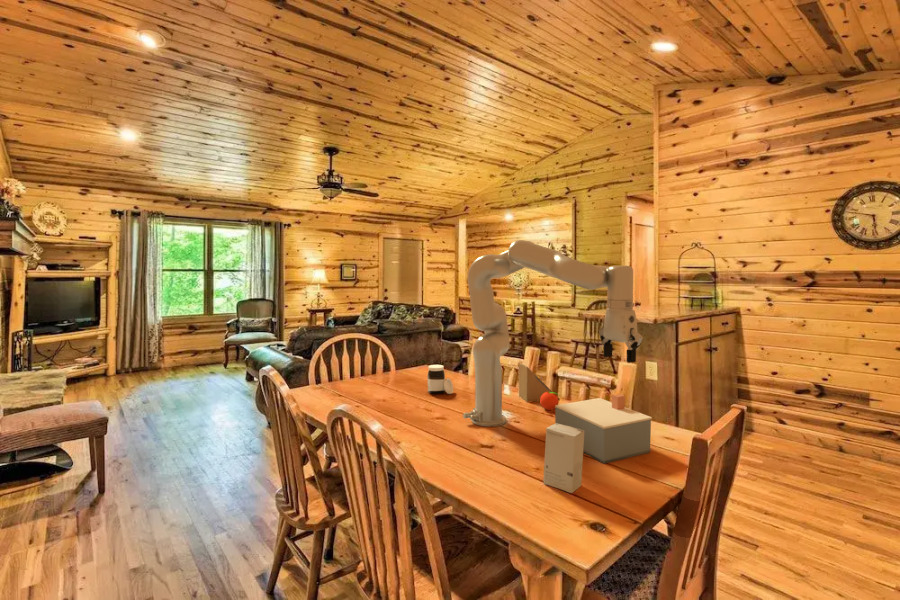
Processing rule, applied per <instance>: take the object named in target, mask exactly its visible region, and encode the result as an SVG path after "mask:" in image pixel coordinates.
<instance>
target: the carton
mask: <svg viewBox="0 0 900 600" xmlns="http://www.w3.org/2000/svg"><path fill="white" fill-rule="evenodd" d="M554 410H555V411H554V413H555V418H554V419H555V421H554V422H555V423H558V424H562V425H565V426H570V427H573V428H576V429H580V430H583V431H584V446H583V454H585V455H587V456H588V455H589V457H590V458H593V460H596V461H598V462H599V463H601V464H603V465H605V464H609V463H612V462H613V463H614V462H616V461H621V460H626V459H629V457H630V458H633V456H634V457H637V455H638V456H642V455H646V454H649V453H651V438H652V437H651V436H652V435H651V429H652V427H651V426H652V419H651V420H646V421H641V422H636V423H631V424H626V425H622V426H617V427H612V428H607V429H603V428H601V427H599V426H596V425H594V424H592V423H590V422H588V421H585V420H583V419H581V418H579V417H576V416H574V415H572V414H570V413H568V412H565V411H563V410H561V409H559V408H556V407H555V408H554ZM555 423H554V424H555ZM641 454H642V455H641ZM625 458H626V459H625Z"/></svg>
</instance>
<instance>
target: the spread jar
mask: <svg viewBox="0 0 900 600" xmlns="http://www.w3.org/2000/svg"><path fill="white" fill-rule="evenodd" d="M444 370H445V369H444V365H441V364H430V365H428V371H427V391H428V393H429V394H432V395H440V394H443V393H445V392H446V393H447V394H448V395H451V394H453V393H454V384H453V382H452V380H451V378H448V377H447V378H446V373H445V371H444Z"/></svg>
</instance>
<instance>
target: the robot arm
mask: <svg viewBox="0 0 900 600" xmlns="http://www.w3.org/2000/svg"><path fill="white" fill-rule="evenodd" d="M526 268H527V269H530V270H533V271H535V272H538V273H539V274H540V273H541V274H544V275H546V276H549V277H551V278H554V279H558V280H560V281H561V282H565V283H567V284H571V285H573V286H577V287H579V288H582V289H584V290H585V289H586V290H592V291H594V290H598V289H603V288H606V291H607V292H606V293H607V295H606V298H607V299H606V306H607V307H606V309H605V314H604V323H603V327H602V328H599V329H598V333H599V336H600V337H599V338H600V340H601V344H602V345H603V358H609V357H613V344H612V342H617V343H622V344H623V343H624V344H625V345H626V347H627V349H626V363H628V364H630V363H636V361H637V350H638V349H639V347H640V346H641V343H642V341H643V339H644V337H643V335H642V334H640V333H639V332H638V322H637V315H636V310H635V309H634V307H635V303H634V269H633V267H632V266H630V265H610V266H604V265H595V264H590V263H588V262H587V263H586V262H584V261H580V260H576V259H575V258H571V257H570V256H569V257H568V256H567V255H565V254H564V253H562V252H560V251H558V250H555V249H552V248H549V247H546V246H543V245H540V244H536V243H534V242H533V241H529V240H524V239H518V240H515V241H513V242H512V243H511V244H510V245H509V247H508V250H506V251H504V252H501V253H499V254H494V253H489V254H484V255H481V256H479V257H477V259H475V260H474V261H473V262H472V264H471V265H470V266H469V268H468V272H467V285H468V286H467V287H468V292H469V300H470V301H469V302H470V303H469V304H470V310H471V311H470V312H471V317H472V318H471V320H472V323H473V326H474V327H475V328H476V329H477V330H479V331H483V333H484V334H483V335H481V336H479V337H478V338H477V339H476V340H475V342H474V344H473V346H472V355H473V361H474V376H475V377H474V378H475V379H474V383H475V384H474V385H475V386H474V387H475V388H474V389H475V392H474V394H475V395H474V396H475V401H474V402H475V407H474V408H472V410H471V411H470V412H464V413H463V414H462V417H463V419H470V420H471V422H472V423H473V424H474V425H477V426H479V427H490V428H491V427H498V426H502V425H504V424H506V422H507V417H506V416H505V415H504V414H502V413H503V406H502V405H503V395H502V394H503V385H502V384H503V379H502V378H503V377H502V375H503V374H502V373H503V371H502V363H501V357H502V356H504V355H505V354H507V352H508V351H509V348H510V334H509V327H508V326H509V325H508V318H507V314H506V311H505V309H504V307H503V306H502V305H501V304H499V303H497V302H495V297H494V296H495V295H494V289H493V287H492V282H491V281H492V279H501V278H505V277H507V276H509V275H512V274H514V273H516V272H518V271H520V270H523V269H526Z"/></svg>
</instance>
